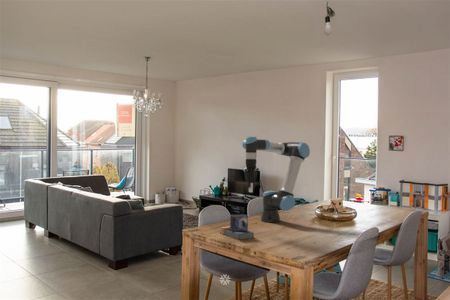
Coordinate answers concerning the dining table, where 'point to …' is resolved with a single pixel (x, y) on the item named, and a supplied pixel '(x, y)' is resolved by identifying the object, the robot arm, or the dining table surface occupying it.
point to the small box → (239, 223)
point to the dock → (239, 234)
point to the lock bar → (225, 229)
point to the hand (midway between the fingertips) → (250, 192)
